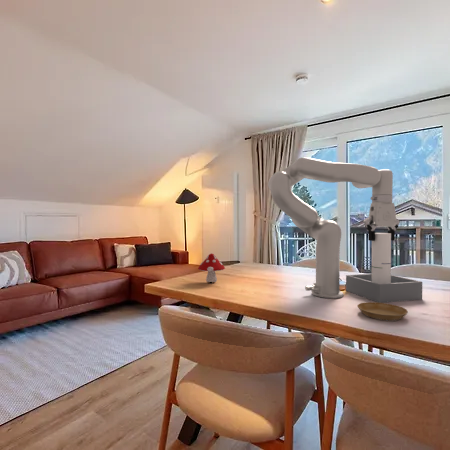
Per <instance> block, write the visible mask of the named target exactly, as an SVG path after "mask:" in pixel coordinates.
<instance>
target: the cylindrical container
mask: <svg viewBox="0 0 450 450" xmlns="http://www.w3.org/2000/svg"><path fill="white" fill-rule="evenodd" d="M371 274H372V282H375V283H378V284H387V283H391V275H392V240H391V233H388V232H375V241H371Z"/></svg>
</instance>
